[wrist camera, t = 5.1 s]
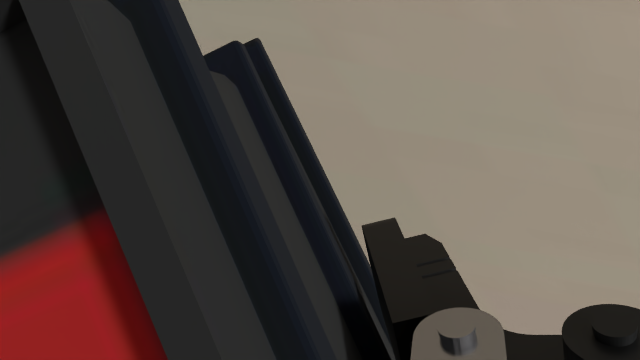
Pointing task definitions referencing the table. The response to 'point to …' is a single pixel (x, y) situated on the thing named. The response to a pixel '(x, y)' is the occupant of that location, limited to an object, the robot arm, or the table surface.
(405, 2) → the table surface
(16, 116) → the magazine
